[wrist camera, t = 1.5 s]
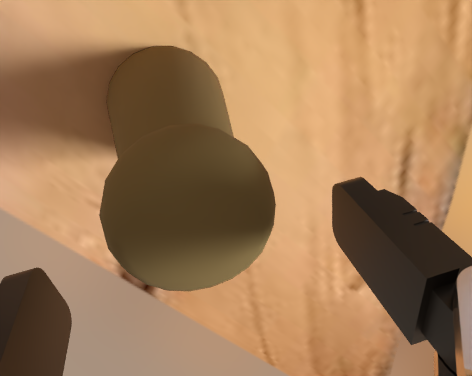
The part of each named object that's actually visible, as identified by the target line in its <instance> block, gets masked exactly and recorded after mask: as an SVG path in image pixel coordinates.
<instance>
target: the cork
mask: <svg viewBox="0 0 472 376" xmlns="http://www.w3.org/2000/svg"><path fill="white" fill-rule="evenodd" d="M107 107H108V112H109V117H110V122H111V127H112V132H113V137H114V142H115V146H116V151H117V156H118V160H117V162H116V164H115V165H114V167H113V168H112V170H111V172H110V173H109V175H108V177H107V178H106V180H105V185H104V191H103V197H102V203H101V209H100V215H99V216H100V220H101V223H102V227H103V231H104V235H105V239H106V242H107V246H108V249H109V250H110V252H111V253H112V254H113V256H114V257H115V258H116V259H117V261H118V262H119V263H120V265H121V266H122V267H123V268H124V269H125V270H126V271H127V272H128V273H129V274H131V275H133V276H134V277H136V278H137V279H139V280H140V281H142V282H144V283H145V284H147V285H150V286H154V287H157V288H161V289H164V290H169V291H193V290H199V289H204V288H210V287H213V286H215V285H218V284H220V283H223V282H225V281H228V280H230V279H232V278H234V277H235V276H236V275H238V274H239V273H241V272H242V271H244V270H245V269H247V268H248V267H249V266H250V265H251V264H252V263H253V262H254V260H255V259H256V258H257V257H258V256H259V255H260V254H261V253H262V251H263V249H264V247H265V245H266V242H267V240H268V238H269V236H270V234H271V231H272V228H273V225H274V216H275V206H276V204H275V197H274V192H273V189H272V185H271V182H270V179H269V175H268V172H267V171H266V169H265V168H264V166H263V165H262V163H261V162H260V161H259V159H258V158H257V157H256V156H255V154H254V153H253V152H252V151H251V149H250V148H249V147H248V146H247V145H246V144H244V143H242V142H241V141H239V140H237V139H236V138H234V136H233V132H232V128H231V124H230V120H229V116H228V112H227V108H226V103H225V99H224V95H223V92H222V89H221V86H220V83H219V80H218V77H217V76H216V75H215V73H214V72H213V71H212V69H211V68H210V67H209V65H208V64H207V63H206V62H205V61H203V60H202V59H201V58H199V57H198V56H196V55H195V54H193V53H192V52H190V51H187V50H183V49H180V48H177V47H173V46H157V47H150V48H147V49H144V50H142V51H139V52H137V53H134V54H132V55H131V56H130V57H129V58H128V59H127V60H125V61H124V62H123V63H122V64H121V65H120V66H119V67H118V68H117V70H116V72H115V74H114V76H113V77H112V79H111V81H110V83H109V88H108V95H107Z"/></svg>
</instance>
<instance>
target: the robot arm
mask: <svg viewBox="0 0 472 376" xmlns="http://www.w3.org/2000/svg"><path fill="white" fill-rule="evenodd" d="M332 227H333V232H334V236H335V238H336V241H337V243H338V245H339V246H340V248H341V249H342V250H343V252H344V253H345V255H346V256H347V257H348V259H349V260H350V261H351V263H352V264H353V266H354V267H355V268H356V270H357V271H358V272H359V274H360V275H361V277H362V278H363V279H364V281H365V282H366V283H367V285H368V286H369V288H370V289H371V290H372V292H373V293H374V294H375V296H376V297H377V299H378V300H379V301H380V303H381V304H382V305H383V307H384V308H385V310H386V311H387V312H388V314H389V315H390V316H391V318H392V319H393V321H394V322H395V323H396V325H397V326H398V327H399V329H400V330H401V332H402V333H403V334H404V336H405V337H406V338H407V340H408V341H409V342H410V344H411V345H413V344H416V343H419V342H421V341H424V340H428V341H429V342H430V344H431V345H432V346H433V348H434V349H435V352H434V376H472V257H471V256H470V255H469V254H467V253H466V252H465V251H464V250H463V249H462V248H460V247H459V246H458V245H457V244H456V243H455V242H454V241H452V240H451V239H450V238H449V237H448V236H447V235H445V234H444V233H443V232H442V231H441V230H440V229H439V228H437V227H436V226H435V225H434V224H433V223H432V222H430V223H429V221H428V219H427V218H426V217H425V216H424V215H422V214H421V213H420V212H417V209H415V208H414V207H413V206H412V205H411V204H410V203H409V202H407V201H406V200H405V199H404V198H403V197H401V196H398V195H396V194H394V193H392V192H389V191H387V190H385V189H383V190H379V191H377V190H376V189H375V188H374V187H373V186H372V185H371V184H369V183H368V182H367V181H366V180H365V179H364V178H362V177H358V178H355V179H351V180H348V181H344V182H341V183H337V184H335V185H334V186H333V189H332ZM71 322H72V321H71V313H70V309H69V307H68V305H67V303H66V301H65V300H64V299H63V297H62V296H61V294H60V293H59V292H58V290H57V289H56V287H55V286H54V285H53V283H52V282H51V280H50V279H49V277H48V276H47V275H46V273H45V272H44V271H43V270H42V269H41V268H34V269H30V270H27V271H23V272H19V273H16V274H13V275H9V276H6V277H4V278H3V280H2V281H1V283H0V376H62V375H63V370H64V364H65V359H66V353H67V348H68V343H69V337H70V331H71V324H72V323H71Z"/></svg>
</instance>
